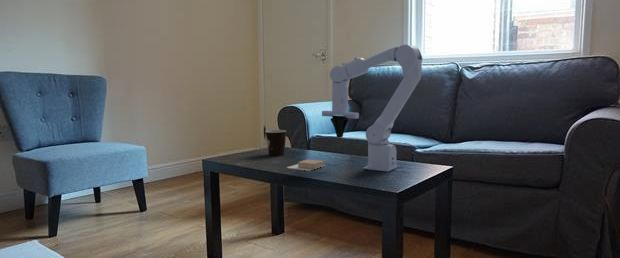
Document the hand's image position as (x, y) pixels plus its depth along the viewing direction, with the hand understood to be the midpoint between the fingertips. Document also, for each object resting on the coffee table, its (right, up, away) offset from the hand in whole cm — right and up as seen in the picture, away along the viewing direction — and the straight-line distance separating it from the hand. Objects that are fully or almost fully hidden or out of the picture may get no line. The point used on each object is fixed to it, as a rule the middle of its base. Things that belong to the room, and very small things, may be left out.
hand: (339, 137), depth 165 cm
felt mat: (-12, -11, -1) cm, 16 cm away
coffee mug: (-25, -8, +24) cm, 35 cm away
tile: (-8, -10, -4) cm, 13 cm away
